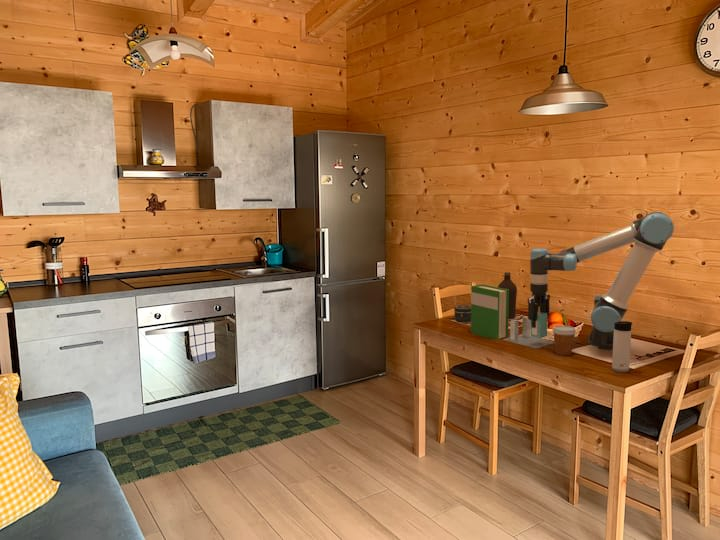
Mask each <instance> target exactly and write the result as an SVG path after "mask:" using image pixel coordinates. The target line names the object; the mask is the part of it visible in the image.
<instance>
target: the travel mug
mask: <svg viewBox="0 0 720 540" xmlns="http://www.w3.org/2000/svg"><path fill="white" fill-rule="evenodd" d="M632 326H633V322H632V321H629V320H625V321H624V320H621V321H619V322H616V323H614V337H613V350H612V360H611V361H612V362H611V370H613V372H617V373H629V371H630V361H631V344H632Z"/></svg>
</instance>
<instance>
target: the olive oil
mask: <svg viewBox="0 0 720 540" xmlns="http://www.w3.org/2000/svg"><path fill="white" fill-rule="evenodd" d="M503 275H504V276H503V280H502V281H501V282H500V283H499V284H498V285H497V287H498V288H503V289H509V318H508V320H509V319H515V318H516V312H517V311H516V309H517V294H518V288H517V285H516V284H515V283H514V282H513V281H512V279H511V272H509V271H506V272H504V274H503Z"/></svg>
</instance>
